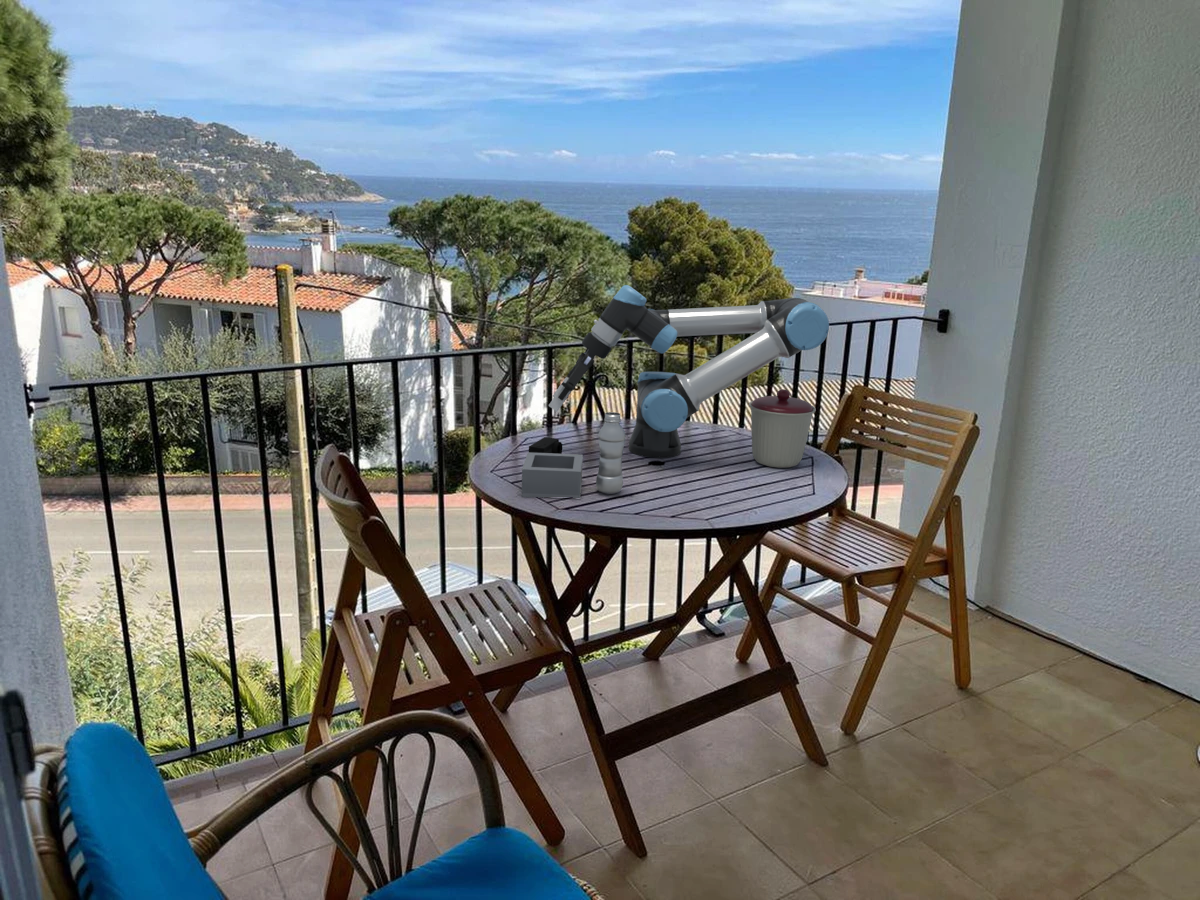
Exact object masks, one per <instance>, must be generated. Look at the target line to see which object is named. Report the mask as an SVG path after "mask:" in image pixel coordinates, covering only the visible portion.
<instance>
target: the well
mask: <svg viewBox="0 0 1200 900" xmlns="http://www.w3.org/2000/svg"><path fill="white" fill-rule="evenodd" d="M583 457H584V455H583V454H580V453H579V454H576V453H575V454H574V453H573V454H572V453H562V454H555V453H531V452H529V451H528V452H527V453H526V456H525V460H524V462H523V465H522V469H521V498H533V497H535V498H536V497H538V498H540V497H543V498H542V499H545V498H544V497H573V498H580V499H581V494H580V493H581V492H582V485H581V484H583V466H584V465H583V460H584V458H583ZM540 499H541V498H540Z"/></svg>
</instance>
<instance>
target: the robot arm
mask: <svg viewBox="0 0 1200 900" xmlns="http://www.w3.org/2000/svg"><path fill="white" fill-rule="evenodd" d="M646 303H647V297H645V296H643V294H641V293H640V292H638V291H637V290H636V289H634V288H633V287H632V286H630V285H628V284H624V285H622V286H621V288H620V289H619V290H618V291H617V293H616V294H615V295H614V296H613V297H612V298H611V300H610V302H609V303H608V304H607V306H606V307H605V309H604V311H602V313H601V314H600V316H599V317H598V320H597V319H594V320H593V324H594V325H593V326H592V328H591V332H590V331H588V333H586V335H585V336H584V338H583V340H582V341H581V344H582V346H583V347H584V348H585V350H584V352H581V354H580V355H579V356H578V359H577V360H576V362H575V365H574V366H573V367H572V368H571V369H570V370H569V372H568V374H567V375H566V377H565V378H564V379H563V381H562V382H561V383H560V385H559V386H558V388H557V389H556V390H555V392H554V393H553V395H552V397H553V398H552V400H551V401H550V403H549V404H548V407H549V408H551V409H552V410H554V411H555V412H558V411H559V410H560V409H561V407H562V406H563V404H564V403H565V402H566V400H567V399H568V397H569V396H570V395H571V393H572V392H573V391H574V390H575V388H576V386H578V384H579V382H580V381H581V379H582V378H583V376H584V375H585V374H586V373H587V372H588V371H589V369H590V368H591V367H592V366H593V365H594V363H595V360H594V359H595V357H596V356H597V357H598V358H600V359H603V360H604V359H606V358H607V356H608V355H609V354H610V352H611V351H612V347H615V346H616V345H617V343H618V342H619V341H620V340H621V337H622V336H623V335H624V333H625V331H628V332H629V333H631V334H632V335H634V336H635V337H637V338H638V339H639V340H641V341H642V342H644V343H645V344H646V345H647V346H649V347H650V348H651V349H652V350H654V351H656V352H657V353H659V354H665V353H666V352H667V351H668V350H669V349H670V348H671V347H672V346H673V344H674V342H675V341H676V340H677V337H692V336H713V335H715V336H716V335H718V336H719V335H735V334H752V335H749V336H748V337H747V338H746V339H744V340H742V341H740V342H738V343H736V344H735V345H734V346H732V347H730V348H728V349H727V350H725V351H723V352H722V353H719V354H718V355H717V356H715V357H713V358H711V359H710V360H707V361H706V362H705V363H703V364H701V365H700V366H698V367H696V368H695V369H693V370H691V371H690V372H688V373H686V374H680V373H675V372H668V371H667V372H666V371H642V372H640V373H639V375H638V380H637V397H636V398H637V399H636V418H635V420H636V421H635V426H634V428H633V430H632V432H631V435H630V439H629V440H628V451H629V452H630V453H632V454H634V455H637V456H641V457H646V458H658V459H659V458H660V459H661V458H671V457H676V456H678V455H679V454H681V453H682V441H681V437H680V434H679V431H678V429H679V428H681V426H683V425H684V423H685V422H686V420H687V418H689V417H691V416H692V415H694V414H696V413H697V412H699V411H700V407H701V405H702V403H703V402H706V400H708V399H709V398H711V397H713V396H715V395H716V394H719V393H720V392H722V391H724V390H726V389H727V388H729V387H731V386H732V385H734V384H736V383H737V382H739V381H740V380H743V379H744V378H746V377H747V376H749V375H751V374H753V373H754V372H756V371H758V370H759V369H761V368H763V367H765V366H766V365H768V364H770V363H771V362H773V361H774V360H776V359H778V358H785V359H789V358H791V357H793V356H795V355H796V354H798V353H799V352H801V351H810V350H813V349H816V348H818V347H819V346H820V345H822V344H823V343H824V341H825V340H826V338H827V336H828V333H829V329H830V322H829V318H828V315H827V314H826V312H825V311H824V310H823V309H822V308H821V307H820V306H819V305H818V304H816V303H814V302H812V301H811V302H810V301H807V300H805V299H802V298H799V297H788V298H783V299H774V300H761V301H760V302H759V303H758V304H756V305H752V304H751V305H739V306H737V305H736V306H717V307H714V306H713V307H712V306H711V307H698V308H697V307H696V308H695V307H693V308H678V309H676V308H674V309H672V308H671V309H656V310H655V309H653V308H647V307H646V306H645V305H646Z"/></svg>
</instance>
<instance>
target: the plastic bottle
mask: <svg viewBox="0 0 1200 900" xmlns="http://www.w3.org/2000/svg"><path fill="white" fill-rule="evenodd" d="M621 420H622V419H621V413H619V412H615V411H610V412H609V411H608V412H605V413H604V420H603V421H604V424H603V426H602V427H601V428H600V429H599V431H598V446H599V462H598V463H599V465H598V470H597V475H596V478H595V479H596V480H595V486H596V487H595V488H596V490H598V492H599V493H603V494H608V495H611V494H612V495H613V494H618V493H620V492H621V491H622V488H623V485H624V478H623V477H624V476H623V468H622V467H623V465H622V463H623V462H622V461H623V452H624V446H625V442H626V436H627V435H626V432H625V430H624V427H623V426H622V425H621V424H620V423H621Z"/></svg>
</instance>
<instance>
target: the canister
mask: <svg viewBox="0 0 1200 900" xmlns="http://www.w3.org/2000/svg"><path fill="white" fill-rule="evenodd" d="M748 406H749V408H750V410H751V411H750V413H751V415H750V417H751V418H750V420H751V424H750V425H751V427H750V428H751V448H752V449H751V452H752V456H753V459H754V460H755V461H756V462H757V463H758V464H760V465H763V466H766V467H770V468H777V469H778V468H779V469H784V468H785V469H786V468H793V467H795V466H797V465H799V464H800V462H801V460H802V458H803V456H804V452H805V448H806V446H807V445H806V444H807V440H808V438H809V437H808V436H809V432H810V427H811V423H812V419H813V414H814V413H815V412H816V411H817V410H816V407H815V406H813V405H812V404H811V403H810V402H809V401H806V400H804V399H801V398H796V397H791V393H790V391H789V390H787V389H785V388H784V389H782V388H781V389H779V390H778V391H777V393H776V395H764V396H760V397H757V398H755V399H753V400H751V401H749V404H748Z"/></svg>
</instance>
